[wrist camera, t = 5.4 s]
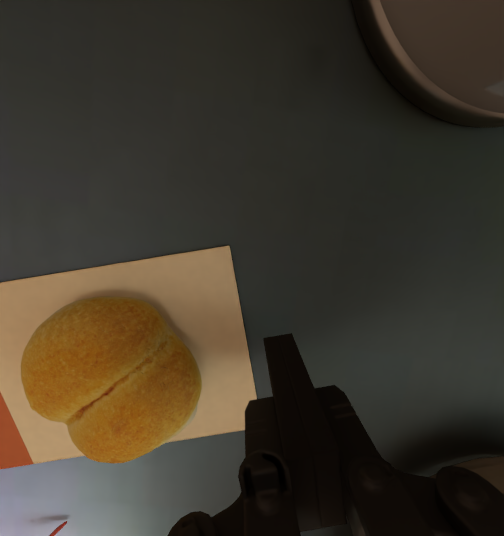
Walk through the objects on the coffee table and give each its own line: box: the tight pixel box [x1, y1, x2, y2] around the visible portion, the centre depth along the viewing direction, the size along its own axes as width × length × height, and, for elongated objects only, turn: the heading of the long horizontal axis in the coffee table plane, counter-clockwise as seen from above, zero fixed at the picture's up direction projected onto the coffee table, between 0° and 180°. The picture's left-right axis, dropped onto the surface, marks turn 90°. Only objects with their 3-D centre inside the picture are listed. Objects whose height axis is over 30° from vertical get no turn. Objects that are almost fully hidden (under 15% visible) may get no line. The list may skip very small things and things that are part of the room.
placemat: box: [0, 245, 257, 469], centre depth 15 cm, size 22×12×1 cm, turn 99°
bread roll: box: [21, 296, 202, 463], centre depth 13 cm, size 8×9×4 cm
